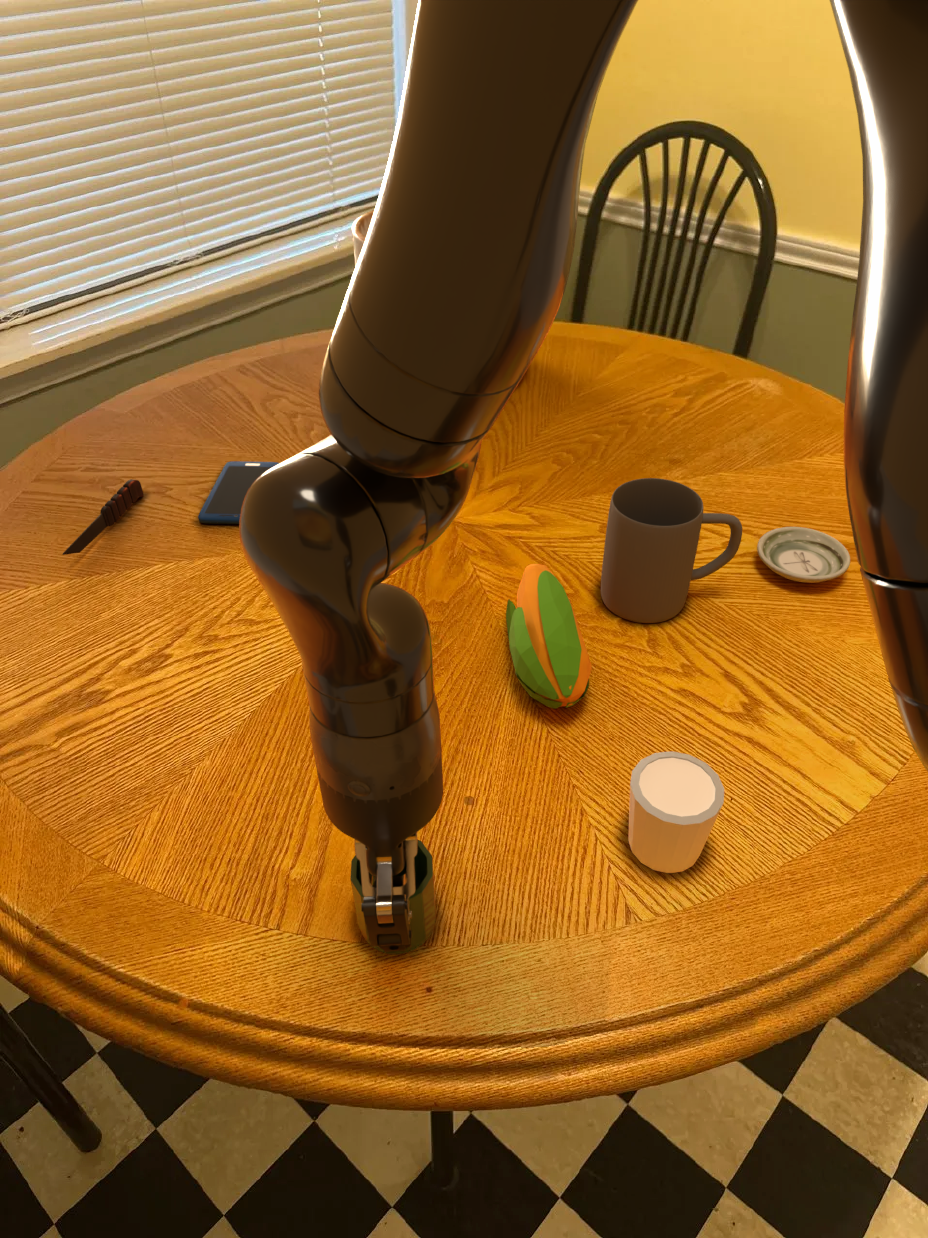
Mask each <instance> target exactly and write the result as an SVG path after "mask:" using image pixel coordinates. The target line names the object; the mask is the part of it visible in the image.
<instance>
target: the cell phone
mask: <svg viewBox="0 0 928 1238" xmlns="http://www.w3.org/2000/svg"><path fill="white" fill-rule="evenodd" d="M279 463H280V462H278V461H250V460H249V461H247V460H246V461H245V460H234V461H233V460H232V461H227V462H226V463H225V465H224V466H223V467H222V470H221V472H220V473H219V476H218V477H217V478H216V481H215V483H214V485H213V487H212V489H211V490H210V492H209V494H208V495H207V498H206V499H205V502H204V503H203V506H202V507H201V509H200V511H199V514H198V515H197V519H198V522H199V523H201V524H214V525H215V524H217V525H219V524H220V525H239V520H240V514H241V508H242V505H243V501H244V498H245V496H246V494H247V491H248V489H249V488H250V487H251V485H252V484H253V482H254V481H255V480H256V479H257V478H258V477H259V476H260V475H262V474H263V473H264V472H266V471H267V470H269V469H270V468H272V467H274V466H276V465H277V464H279Z"/></svg>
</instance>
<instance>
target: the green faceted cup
mask: <svg viewBox="0 0 928 1238" xmlns="http://www.w3.org/2000/svg"><path fill="white" fill-rule="evenodd" d="M417 840H418V844H417V855H416V856H415V875H416V890H415V893H414V894H413V895H412V896H410V897H409V904H410V910H412V918H410V929H411V930H412V938H411V946H410V947H408V948H405V951H389V952H384V949H382V948H380V947H379V946H371V943H370V941H369V935H368V931H367V927H366V923H365V919H364V912H362V910H361V904H362V903H363V901H364V895H363V893H362V881H361V868H360V861H359V859H357V857H356V854H354V856H353V857H352V858H351V861H350V878H349V879H350V884H351V891H352V896H353V902H354V907H355V914H356V920H357V926H358V929H359V930H360V933H361V935H362V937H363V939H364V940H365V942H366V943H367V944H368V945H369V946H370V947H371V948H373V949H374V950H376V951H378V952H381V953H383V954H387V955H403V954H408V953H410V952H413V951H415V950H417V949H419V948H420V947H422V946H423V945H424V944H425V943H426V942H427V940H429V938H430V937H431V935H432V933H433V931H434V930H435V926H436V923H437V914H436V912H437V911H436V893H435V892H436V891H435V877H434V875H435V874H434V861H433V860H434V859H433V855H432V854H431V852H430V851H429V849H428V848H427V847H426V846H425V844H424V842H422V840H421V839H418V838H417ZM406 872H407V869H406V860H405V867H404V869H403V870H402V871H401V872H400V873H399V874H397V875H394V876H402V875H404V874H406ZM375 877H377V876H375Z"/></svg>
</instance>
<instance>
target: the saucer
mask: <svg viewBox="0 0 928 1238" xmlns="http://www.w3.org/2000/svg"><path fill="white" fill-rule="evenodd" d="M756 551H757V555H758V557H759V558H760V560H761V561H762V563H763V564H764V565H766V567H768V568H769V569H770V570H771V571H773V573H775V574H776V575H779V576H780V577H782V578H785V579H788V580H791V581H794V582H799V583H809V584H810V583H811V584H812V583H814V584H815V583H822V582H826V581H830V580H833V579H837V578H839V577H841V576H842V575H844V574H845V573H846V572H847V570H848V569H849V567H850V565H851V555H850V552H849V551H848V549H847V548H846V547H845V545H844V544H843V543H842V542H841V541H839V540H838V539H837V538H835V537H833V536H831V534H830V535H829V534H828V533H825V532H823V531H819V530H817V529H813V528H809V527H802V526H782V527H777V528H773V529H771V530H769V531H767V532H765V533H764V534H763V535H762V536H760V538H759V540H758V541H757V545H756Z"/></svg>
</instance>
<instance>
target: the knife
mask: <svg viewBox="0 0 928 1238" xmlns="http://www.w3.org/2000/svg"><path fill="white" fill-rule="evenodd" d="M143 497H144V491H143V487H142V484H141V481H140V480H139V479H129V480H127V481H126V482H125V483H124V484H123V485H122V486H121V487H120V488H119V489H118V490H117V491H116V493H115V494H113V495H112V496H111V498H110V499H109V500H107V502H105V504H104V505H103V506H102V507H101V508H100V514H99V515H98V516H97V517H96V518H95V519H94V520H93V521H92V522H91V523H90V524H89V526H87V527H86V528H85V529H84V531H82V533H81V534H80V535H78V537H77V538H76V539H75V540H73V542H72V543H71V544H70V545H69V546H68V547H67V548H66V549H65V550H64V551H63V552H62V554H61V555H63V556H66V555H72V554H73V555H74V554H79V553H81V552H82V551H83V550H84V549H86V547H88V546H89V545H90V544H91V543H92V542H93V541H94V540H95V539H96V538H97V537H99V535H100V534H102V532H104V531H105V530H106V529H107V528H108V527H112V526H114V525H115V524H116V523H117V522H118V521H119V520H120V519H121V517H122V516H124V515H125V513H126V512H127V511H128V510H129V509H130V508H131V507H132V506H133V504H135V503H136V502H137V500H138V499H140V498H143Z"/></svg>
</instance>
